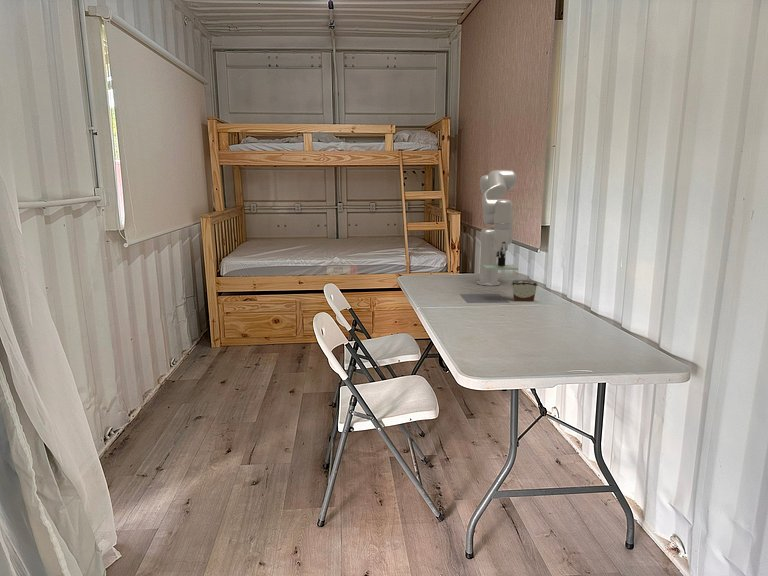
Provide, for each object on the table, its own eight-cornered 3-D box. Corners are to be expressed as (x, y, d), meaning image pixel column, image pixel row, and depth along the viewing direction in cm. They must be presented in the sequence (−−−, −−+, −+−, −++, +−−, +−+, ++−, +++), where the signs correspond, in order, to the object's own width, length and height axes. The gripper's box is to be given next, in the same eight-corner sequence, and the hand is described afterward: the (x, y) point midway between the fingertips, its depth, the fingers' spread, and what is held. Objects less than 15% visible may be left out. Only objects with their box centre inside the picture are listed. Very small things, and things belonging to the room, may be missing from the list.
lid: (482, 266, 258) (482, 255, 257) (513, 266, 258) (513, 255, 257) (486, 269, 249) (486, 258, 248) (518, 269, 249) (518, 258, 248)
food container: (534, 300, 257) (535, 279, 255) (536, 302, 251) (538, 282, 249) (508, 299, 258) (509, 279, 256) (510, 302, 252) (511, 281, 250)
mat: (459, 295, 267) (459, 294, 267) (498, 295, 268) (498, 293, 268) (467, 304, 248) (467, 302, 248) (509, 303, 249) (509, 302, 248)
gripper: (490, 225, 258) (488, 262, 262) (498, 228, 242) (496, 267, 245) (505, 225, 258) (503, 262, 262) (514, 228, 242) (512, 268, 245)
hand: (500, 264), depth 253 cm, fingers closed on lid, 4 cm apart
